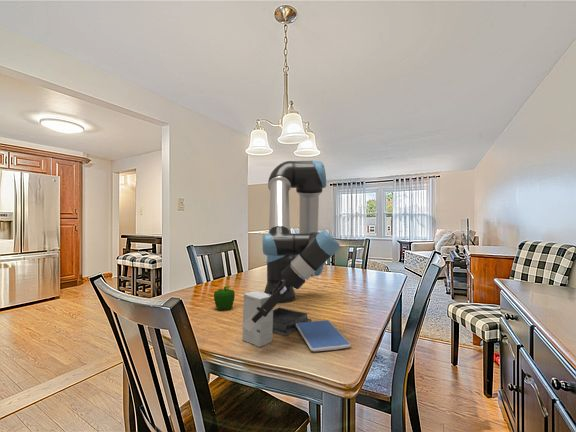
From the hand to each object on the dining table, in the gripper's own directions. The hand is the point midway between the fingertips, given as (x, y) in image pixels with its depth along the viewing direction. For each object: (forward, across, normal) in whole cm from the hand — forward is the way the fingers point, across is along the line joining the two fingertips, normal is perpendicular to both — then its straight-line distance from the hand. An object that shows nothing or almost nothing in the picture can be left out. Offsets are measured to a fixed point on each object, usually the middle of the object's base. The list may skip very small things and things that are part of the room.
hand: (250, 319), depth 92 cm
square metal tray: (-1, +15, -11) cm, 18 cm away
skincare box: (+3, 0, -6) cm, 7 cm away
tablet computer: (-11, +3, -20) cm, 23 cm away
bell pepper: (+17, +31, +8) cm, 37 cm away
